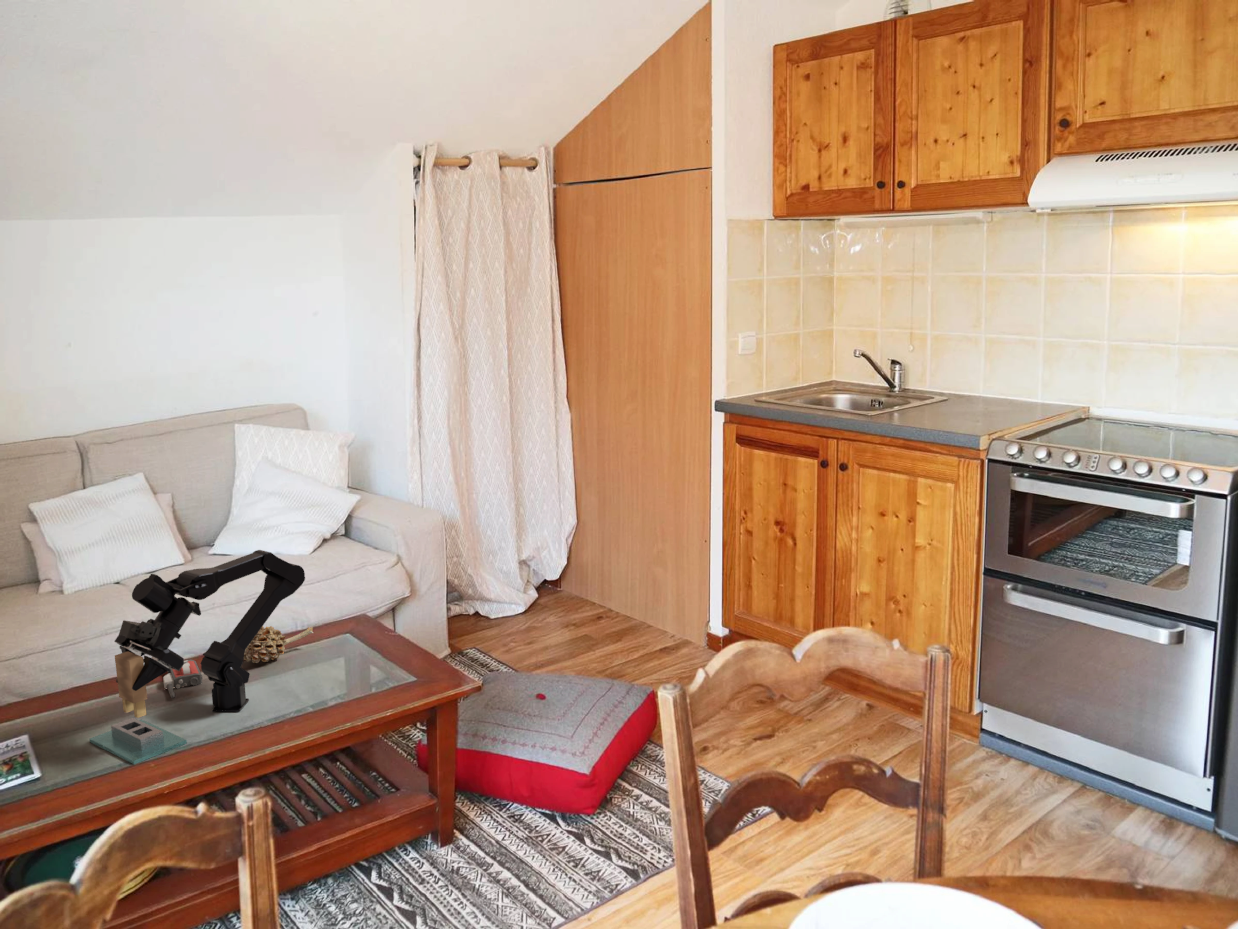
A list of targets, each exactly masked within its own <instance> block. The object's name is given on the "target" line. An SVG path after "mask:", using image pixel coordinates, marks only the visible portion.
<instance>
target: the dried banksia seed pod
mask: <svg viewBox="0 0 1238 929" xmlns="http://www.w3.org/2000/svg"><path fill="white" fill-rule="evenodd" d="M313 629H314V627H313V626H310V627H309V626H307V629H305V630H304V631H302V632H300V633H298V634H296V635H294V636H292V637H288V638H286V635H282V634H283V633H282V632H281V630H279V629H275V627H273V626H272V625H270V626H266V627H265V626H264V625H263V626H262V628H261V629H260V630H259V632H258V633H257V634H256V636H255V637H254V639H253V640H252V641H251V643H250V644H249V645H248V647H247V648H246V650H245V653H244V660H243V661H246V662H247V663H249V662H250V661H252V663H253V664H258V663H260V661H261V662H262V663H268V662H269V661H270V660H272V661H274V660H276V659H279V658H280V655H284V653H285V652H284V651H286V648H285V646H286V645H289V644H291V643H294V642H296V641H298V640H300V639H302V638H304V637H305V638H306V636H308V635H311V634H314V632H313Z"/></svg>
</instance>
